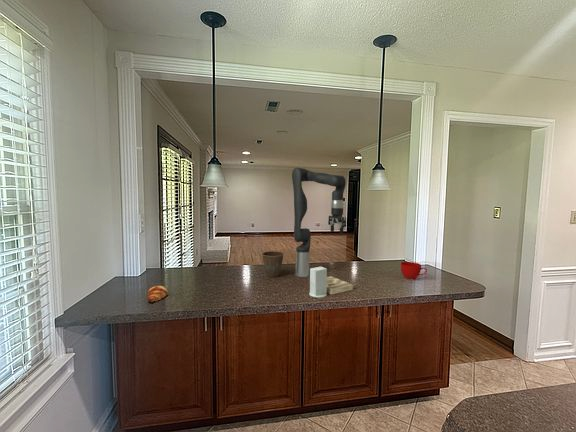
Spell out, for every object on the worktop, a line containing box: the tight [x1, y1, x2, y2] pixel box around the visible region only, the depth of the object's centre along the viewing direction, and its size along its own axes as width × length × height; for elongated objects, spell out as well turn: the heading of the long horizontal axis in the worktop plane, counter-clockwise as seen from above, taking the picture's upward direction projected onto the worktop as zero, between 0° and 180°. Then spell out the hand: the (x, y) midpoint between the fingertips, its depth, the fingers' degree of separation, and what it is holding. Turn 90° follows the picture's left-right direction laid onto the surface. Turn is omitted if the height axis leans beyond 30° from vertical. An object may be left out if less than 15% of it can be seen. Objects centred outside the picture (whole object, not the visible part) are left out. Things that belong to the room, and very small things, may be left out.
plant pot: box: [261, 251, 284, 278], centre depth 204 cm, size 15×15×16 cm
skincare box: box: [309, 266, 328, 296], centre depth 168 cm, size 8×6×15 cm
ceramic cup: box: [400, 261, 428, 280], centre depth 200 cm, size 13×17×10 cm
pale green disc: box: [309, 292, 328, 299], centre depth 169 cm, size 10×10×1 cm
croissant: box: [147, 285, 169, 303], centre depth 163 cm, size 21×10×8 cm, turn 6°
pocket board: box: [327, 275, 354, 295], centre depth 182 cm, size 20×17×3 cm
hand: (336, 232), depth 186 cm, fingers open, 8 cm apart
